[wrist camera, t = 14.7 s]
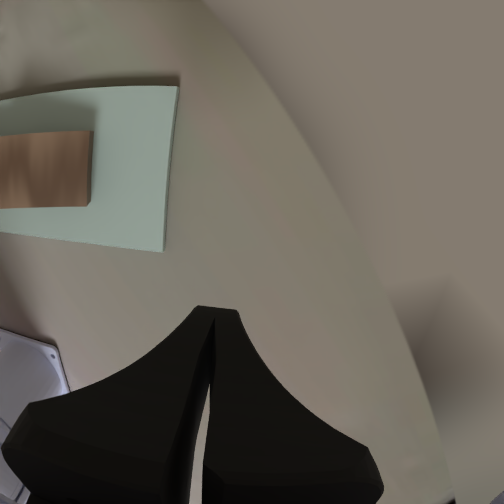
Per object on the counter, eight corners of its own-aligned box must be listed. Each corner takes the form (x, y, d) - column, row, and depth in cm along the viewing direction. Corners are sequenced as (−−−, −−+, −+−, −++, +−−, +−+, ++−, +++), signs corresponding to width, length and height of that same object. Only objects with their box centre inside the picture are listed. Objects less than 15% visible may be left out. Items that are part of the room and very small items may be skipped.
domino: (86, 206, 16) (-19, 209, 13) (90, 201, 18) (-9, 204, 15) (89, 130, 15) (-20, 139, 12) (94, 130, 16) (-9, 138, 13)
